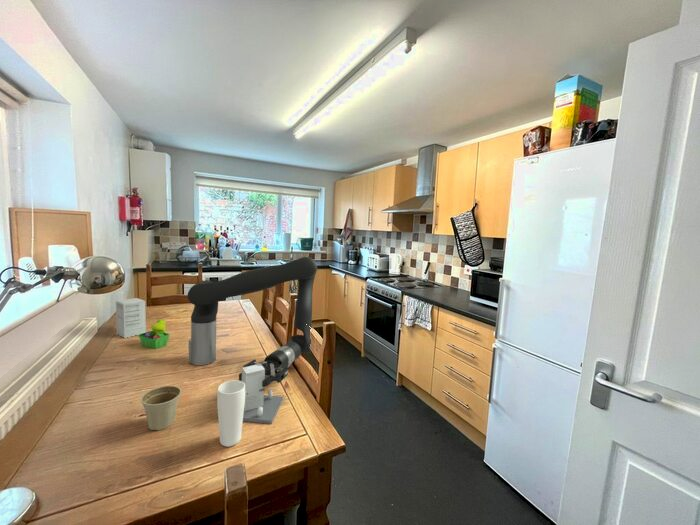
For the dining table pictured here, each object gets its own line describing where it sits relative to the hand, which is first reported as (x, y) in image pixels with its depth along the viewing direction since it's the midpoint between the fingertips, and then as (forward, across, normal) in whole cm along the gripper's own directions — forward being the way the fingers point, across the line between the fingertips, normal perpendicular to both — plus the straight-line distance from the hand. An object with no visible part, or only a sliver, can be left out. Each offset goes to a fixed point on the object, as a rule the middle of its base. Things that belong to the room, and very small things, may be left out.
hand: (251, 381), depth 87 cm
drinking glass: (+12, +3, +10) cm, 16 cm away
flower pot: (+14, -19, +10) cm, 25 cm away
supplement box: (-27, -91, +10) cm, 95 cm away
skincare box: (-1, 0, +9) cm, 9 cm away
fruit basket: (-23, -69, +10) cm, 73 cm away
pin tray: (-1, 0, +10) cm, 10 cm away
